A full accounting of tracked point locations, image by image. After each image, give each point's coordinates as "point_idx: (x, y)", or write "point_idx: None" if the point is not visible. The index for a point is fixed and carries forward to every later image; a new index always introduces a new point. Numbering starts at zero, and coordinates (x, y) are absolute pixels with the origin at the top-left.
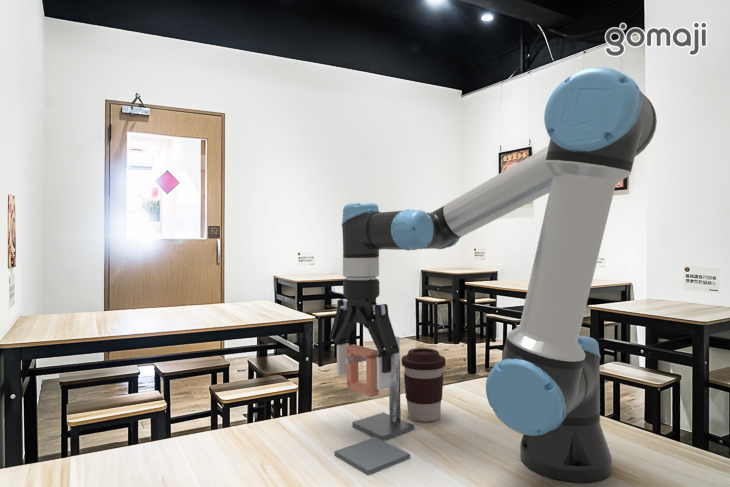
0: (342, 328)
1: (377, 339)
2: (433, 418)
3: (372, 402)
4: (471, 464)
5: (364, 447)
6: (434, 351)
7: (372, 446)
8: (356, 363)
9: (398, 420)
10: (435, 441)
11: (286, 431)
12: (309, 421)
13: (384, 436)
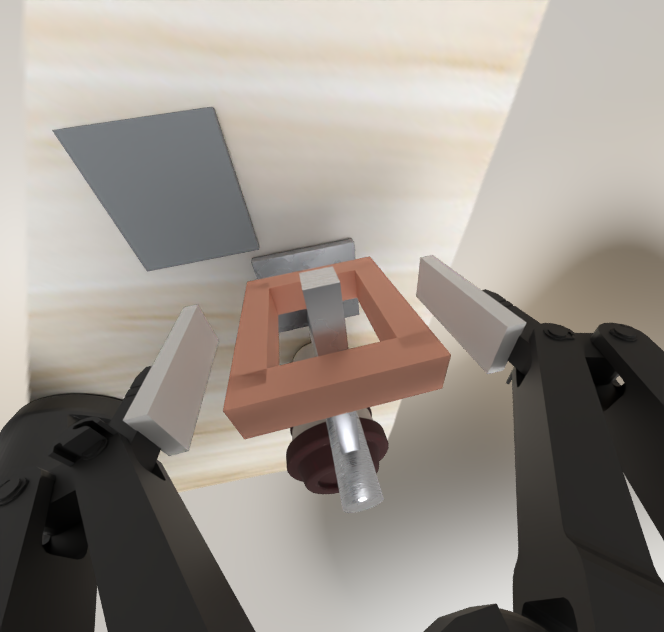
0: (586, 444)
1: (90, 553)
2: None
3: (423, 320)
4: (103, 340)
5: (209, 198)
6: (326, 491)
7: (209, 218)
8: (376, 328)
9: (307, 319)
10: (216, 334)
11: (432, 52)
12: (440, 160)
13: (253, 267)
